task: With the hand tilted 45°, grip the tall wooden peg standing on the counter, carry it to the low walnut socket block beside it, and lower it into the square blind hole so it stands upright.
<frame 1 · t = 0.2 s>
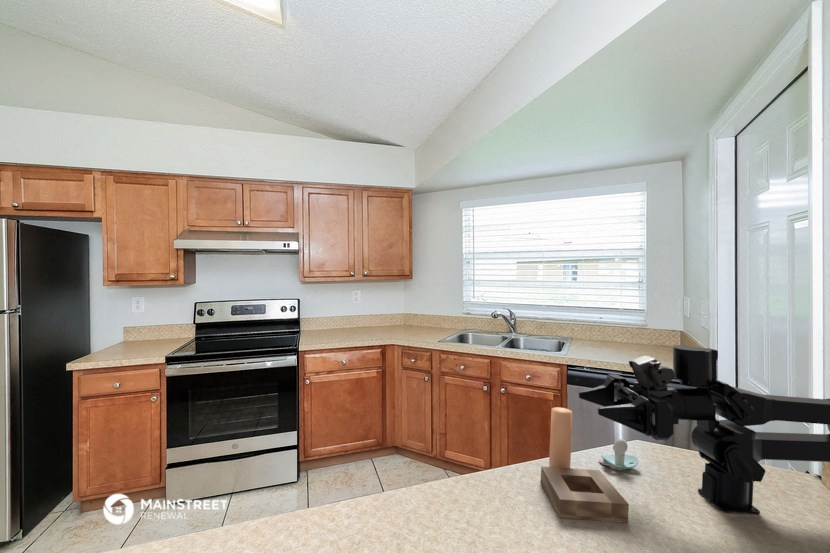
hand: (588, 402, 71), 17 cm above the countertop, tool horizontal, fingers open, 9 cm apart
peg: (559, 472, 78), on the countertop
socket block: (580, 500, 68), on the countertop
pacifier: (616, 467, 82), on the countertop
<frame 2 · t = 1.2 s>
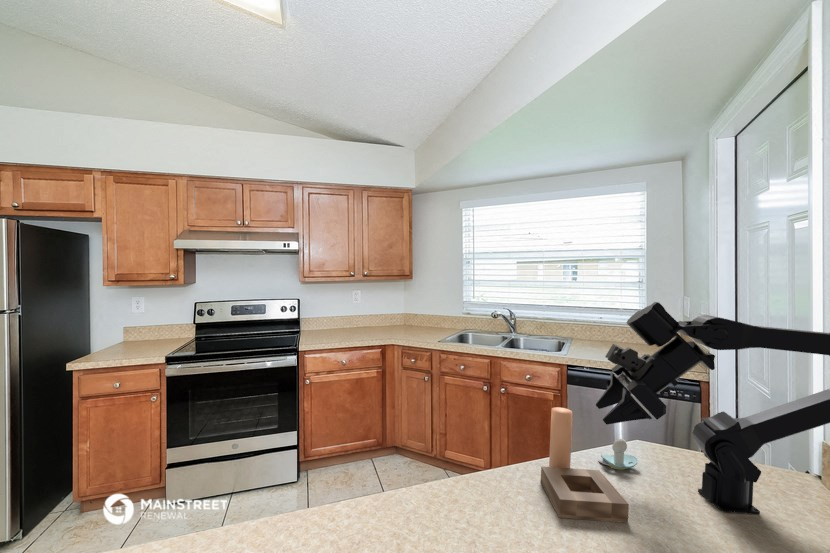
hand: (600, 414, 76), 13 cm above the countertop, tool tilted 45°, fingers open, 9 cm apart
nothing on the countertop moved.
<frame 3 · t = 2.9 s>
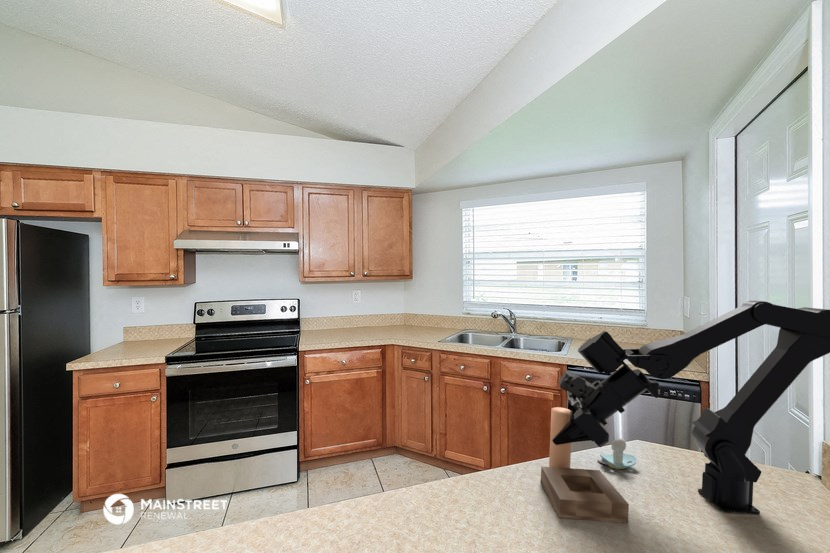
hand: (553, 438, 79), 7 cm above the countertop, tool tilted 45°, fingers closed on peg, 4 cm apart
peg: (559, 471, 78), on the countertop, touching gripper
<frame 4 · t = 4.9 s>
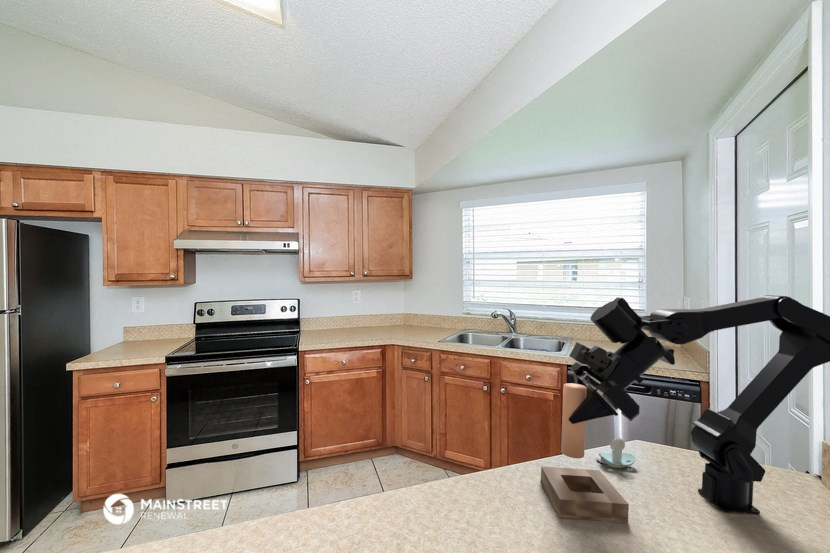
hand: (566, 417, 72), 13 cm above the countertop, tool tilted 45°, fingers closed on peg, 4 cm apart
peg: (572, 453, 72), point 7 cm above the countertop, touching gripper
when the fingers open (8 cm above the countertop, at t = 6.8 s): peg stays where it is, resting on socket block.
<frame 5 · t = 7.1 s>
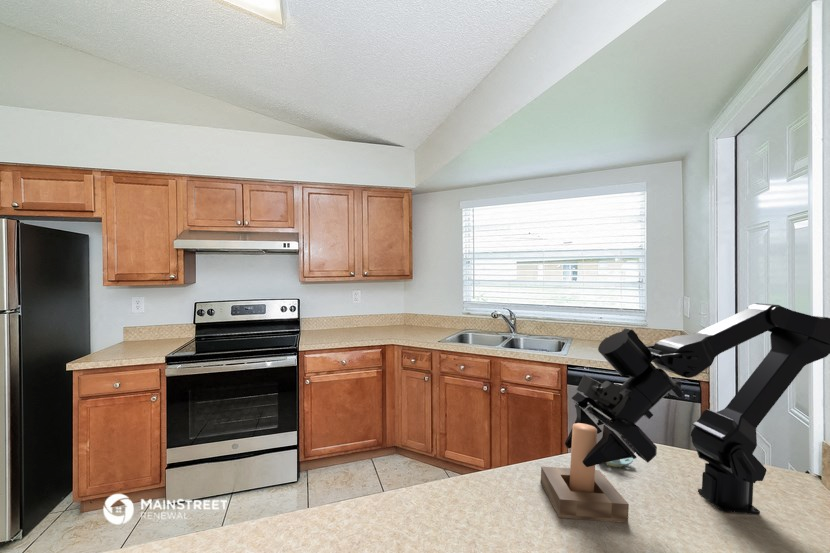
hand: (574, 455, 68), 8 cm above the countertop, tool tilted 45°, fingers open, 7 cm apart
peg: (580, 497, 68), point 1 cm above the countertop, touching socket block
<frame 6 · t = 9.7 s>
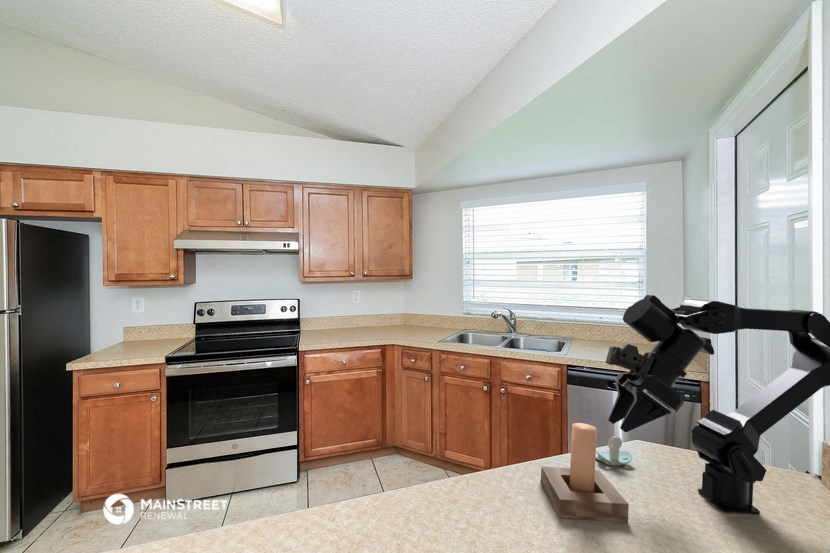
hand: (616, 426, 69), 13 cm above the countertop, tool tilted 35°, fingers open, 9 cm apart
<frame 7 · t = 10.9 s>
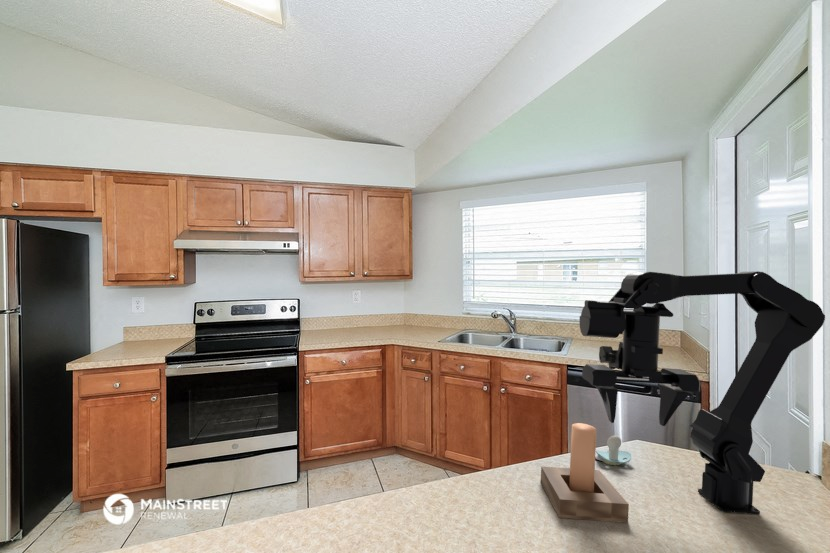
hand: (636, 423, 71), 13 cm above the countertop, tool pointing down, fingers open, 9 cm apart
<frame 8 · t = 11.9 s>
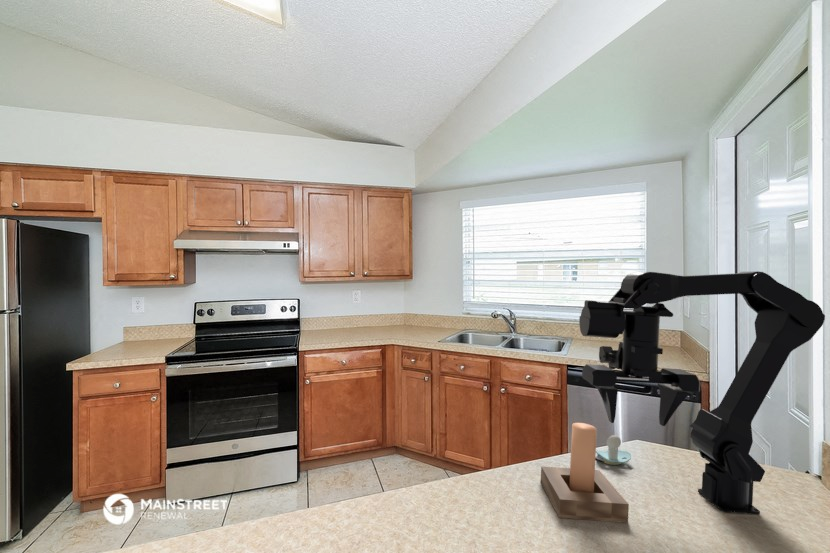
hand: (636, 423, 71), 13 cm above the countertop, tool pointing down, fingers open, 9 cm apart
at the end: peg 0.0 cm off-centre on the socket block, point 0.5 cm above the socket block's base; peg tilted 1°; the gripper is holding nothing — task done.
